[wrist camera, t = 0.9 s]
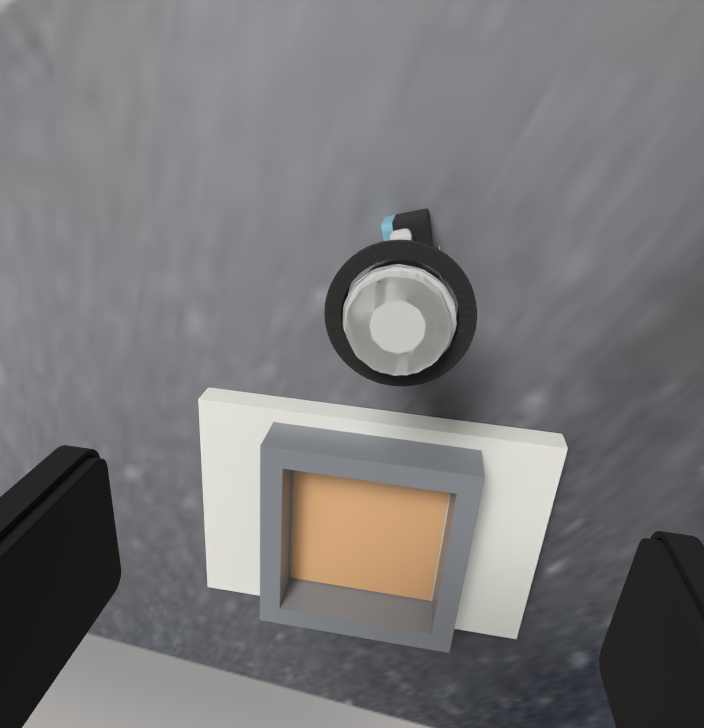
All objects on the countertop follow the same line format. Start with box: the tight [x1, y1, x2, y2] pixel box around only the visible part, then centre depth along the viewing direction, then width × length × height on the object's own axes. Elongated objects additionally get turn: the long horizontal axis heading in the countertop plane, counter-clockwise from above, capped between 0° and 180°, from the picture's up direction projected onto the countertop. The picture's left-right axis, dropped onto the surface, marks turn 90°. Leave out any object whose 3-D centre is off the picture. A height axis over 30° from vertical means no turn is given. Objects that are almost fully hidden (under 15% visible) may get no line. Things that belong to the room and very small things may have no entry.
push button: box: [325, 208, 477, 386], centre depth 23 cm, size 7×5×10 cm
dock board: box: [198, 388, 568, 653], centre depth 32 cm, size 20×14×4 cm
